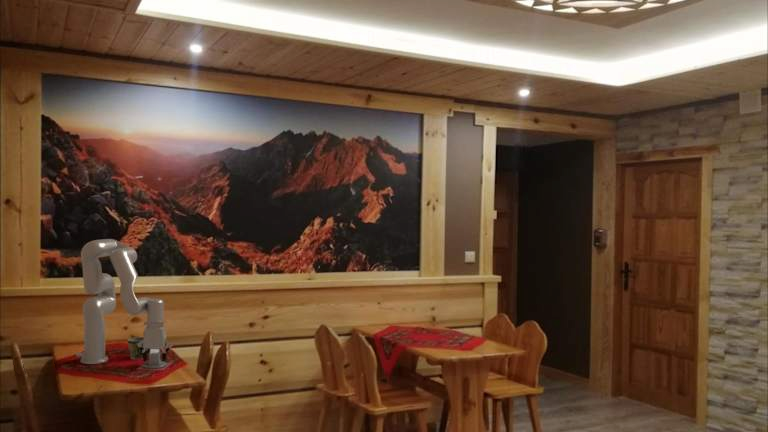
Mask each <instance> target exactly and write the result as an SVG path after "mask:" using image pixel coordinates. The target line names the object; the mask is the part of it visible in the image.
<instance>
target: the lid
mask: <svg viewBox="0 0 768 432" xmlns="http://www.w3.org/2000/svg"><path fill="white" fill-rule="evenodd" d="M167 363H168V362H166V361H164V362H163V361H162V360H161V352H158V353H151V354H149V355H148V362H146V361H145V362H143V363H142V364H141V365H142V367H143V368H145V369H159V368H164V367H166V366H167Z"/></svg>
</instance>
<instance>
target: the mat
mask: <svg viewBox="0 0 768 432" xmlns="http://www.w3.org/2000/svg"><path fill="white" fill-rule="evenodd" d="M166 363H167V366H166V367H164V368H159V369H145V368H143V367H142V364H141V365H140V366H139V367H137V368H136V370H141V371H142V370H144V371H164V370H167V368H168V367H170V366H171V365H172V364H173V362H166Z"/></svg>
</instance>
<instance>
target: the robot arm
mask: <svg viewBox="0 0 768 432" xmlns="http://www.w3.org/2000/svg"><path fill="white" fill-rule="evenodd" d="M102 257H103V258H104V257H109V259H110V262H111V264H112V267H113V269H114V270H115V273H116V275H117V277H118V279H119V283H120V287H119V295H120V300H121V303H122V305H123V307H124V309H125V311H126V312H127V314H129V315H130V316H137V315H142V314H146V313H147V314H146V321H144V323H143V325H145V326H146V327H145V328H144V331H143V337H144V338H143V340H142V341H141V342H139V343H137V345H138V347H139V349H140V350H141V351H142V353H143V359H142V360H143V361H144V362H146V361H148V358H149V355H148V352H147V349H159V350H161V351H162V356H161V361H162V362H166V360H167V358H168V355H167V354H168V352H169V351H170V350H171V349H172V347H173V345H174V344H173V343H172V342H170V341H169V340H168V339H167V333H166V328H165V326H164V324H165V323H164V321H165V320H164V318H165V311H164V310H165V303H164V302H165V301H164V300H163V298H152V297H147V296H143V297H136V295H135V292H134V284H135V282H136V281H137V279H138V277H139V275H138V274H139V273H138V272H137V270H136V268H135V265H134V263H135V262H137V259H138V253H137V251H136V250H135V248H133V247H131V246H129V245H127V244H126V243H122V242H121V241H119V240H117V239H113V238H107V239H106V238H104V239H96V240H94V239H93V240H91V241H89V242H87V243H85V244H84V245H83V247H82V248H81V251H80V261H81V265H82V279H83V288H84V292H85V293H87V294H88V295H97V296H93V297H90V298H88V299H86V300H85V301H84V302H83V305H82V314H83V320H84V321H83V322H84V323H83V325H84V328H83V329H84V336H83V338H84V339H83V343H84V345H83V352H80V351H79V352H78V351H77V352H76V353H75V354H76V358H80V363H81V364H85V365H98V364H103V363H107V362H108V361H109V357H108V356H106V320H105V318H104V315H107V314H111V313H112V312H114V310H115V309H116V306H117V298H116V297H117V296H116V285H115V280H114V278H113V277H112V275H110V274H109V273H104V272H103V271H102V269H103V268H102V264H101V262H100V260H99V258H102ZM142 343H143V346H142V345H141V344H142ZM167 346H168V347H167Z"/></svg>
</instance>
